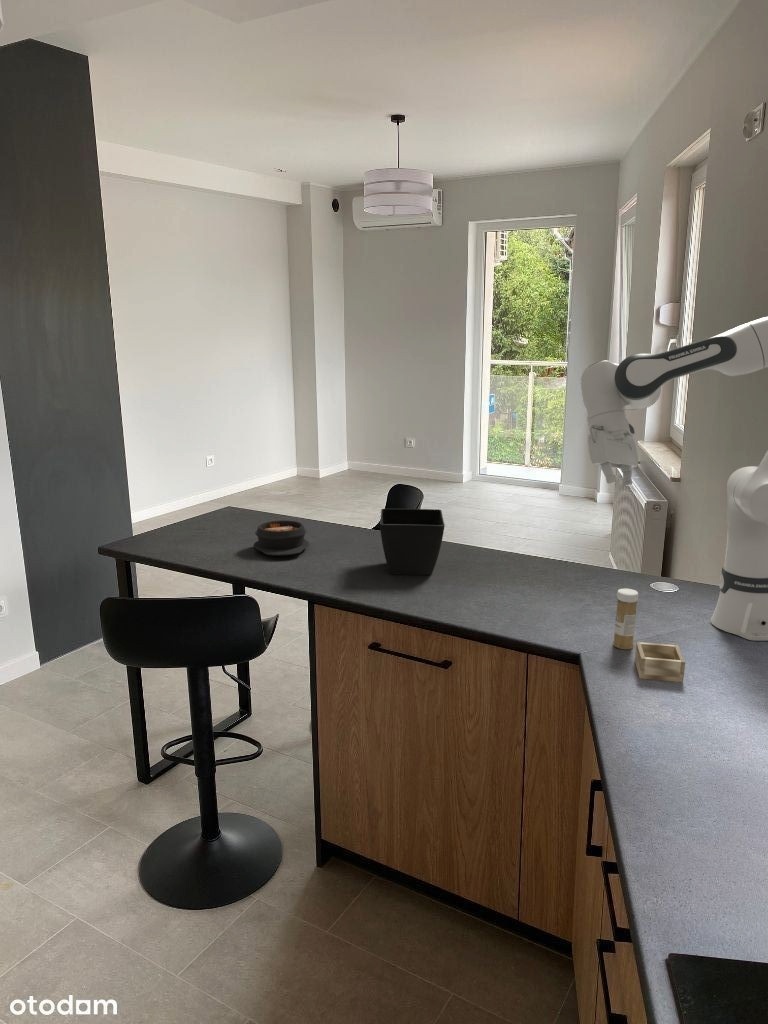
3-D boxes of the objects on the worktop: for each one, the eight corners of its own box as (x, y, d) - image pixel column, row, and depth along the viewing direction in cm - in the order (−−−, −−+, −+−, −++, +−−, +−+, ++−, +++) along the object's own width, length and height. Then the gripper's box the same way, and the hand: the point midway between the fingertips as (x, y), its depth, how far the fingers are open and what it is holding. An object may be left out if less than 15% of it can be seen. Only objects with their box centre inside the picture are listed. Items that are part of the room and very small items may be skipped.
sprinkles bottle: (609, 642, 170) (614, 588, 167) (628, 641, 171) (633, 587, 167) (617, 650, 166) (622, 594, 163) (636, 649, 166) (642, 594, 163)
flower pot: (443, 579, 214) (445, 524, 210) (379, 578, 215) (379, 523, 211) (440, 560, 233) (441, 508, 229) (381, 559, 233) (381, 508, 229)
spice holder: (676, 664, 159) (678, 645, 158) (683, 682, 151) (685, 662, 150) (634, 660, 161) (636, 641, 159) (639, 678, 152) (641, 658, 151)
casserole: (252, 541, 254) (251, 518, 252) (305, 538, 257) (305, 515, 255) (254, 562, 230) (253, 536, 228) (313, 559, 234) (312, 533, 232)
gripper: (602, 419, 165) (614, 478, 163) (637, 429, 180) (649, 483, 178) (577, 427, 169) (588, 485, 167) (613, 436, 184) (624, 489, 182)
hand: (620, 484), depth 172 cm, fingers open, 8 cm apart
